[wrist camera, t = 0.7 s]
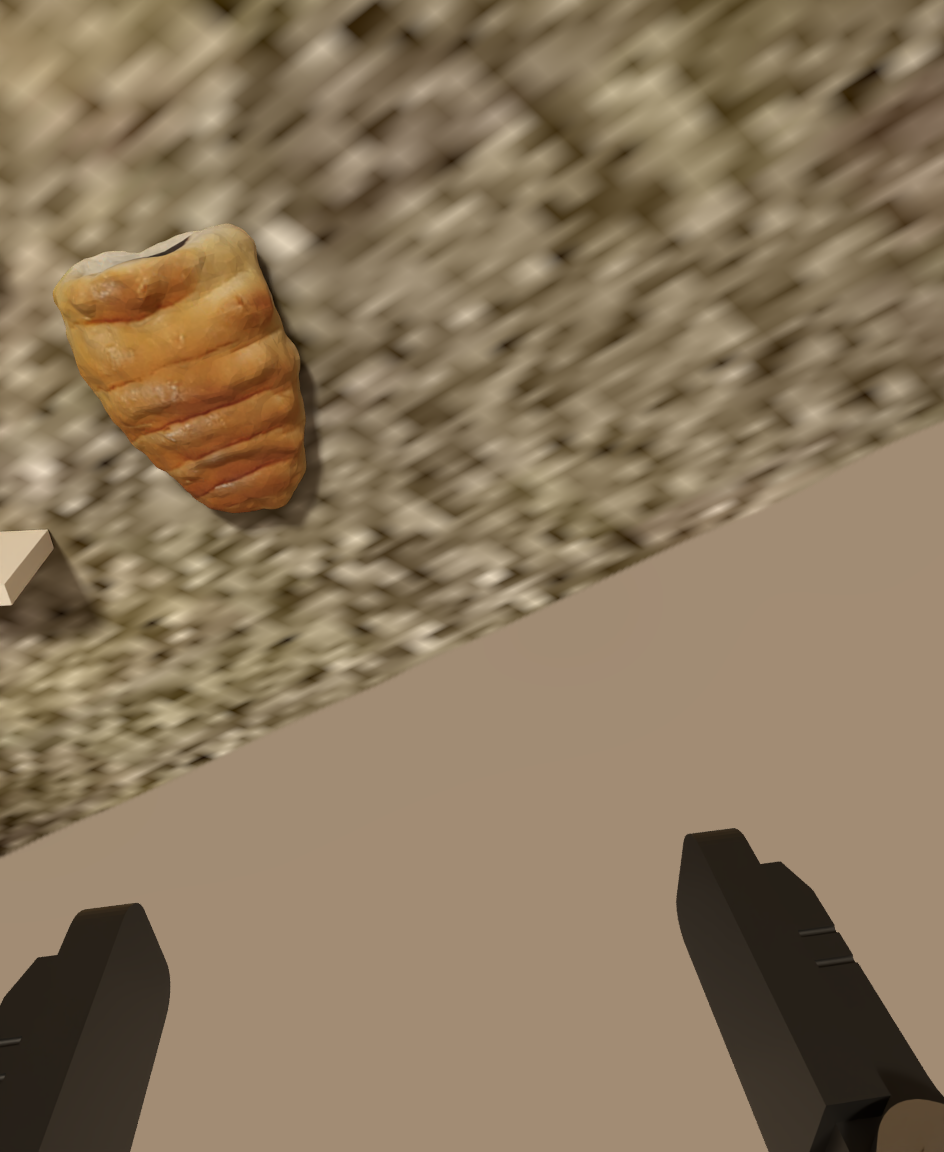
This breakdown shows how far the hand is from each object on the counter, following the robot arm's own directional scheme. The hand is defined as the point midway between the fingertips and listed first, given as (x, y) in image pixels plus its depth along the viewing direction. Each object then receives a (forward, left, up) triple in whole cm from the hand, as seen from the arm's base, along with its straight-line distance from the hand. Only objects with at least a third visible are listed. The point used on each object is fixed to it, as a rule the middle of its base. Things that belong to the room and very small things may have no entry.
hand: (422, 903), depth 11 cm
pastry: (-3, -5, -20) cm, 21 cm away
